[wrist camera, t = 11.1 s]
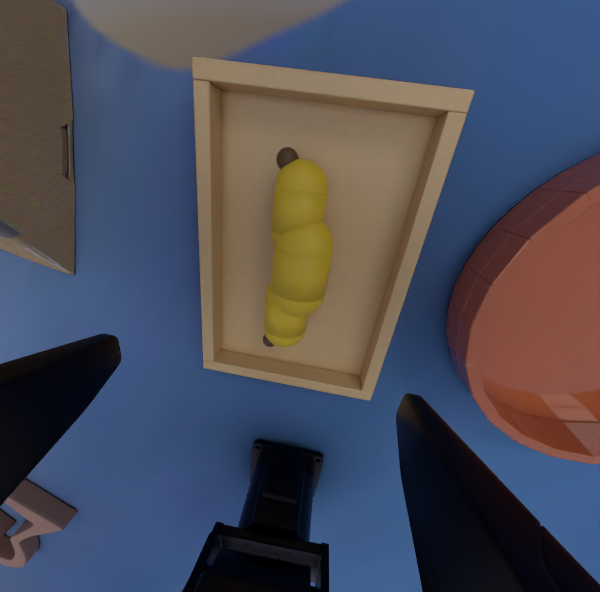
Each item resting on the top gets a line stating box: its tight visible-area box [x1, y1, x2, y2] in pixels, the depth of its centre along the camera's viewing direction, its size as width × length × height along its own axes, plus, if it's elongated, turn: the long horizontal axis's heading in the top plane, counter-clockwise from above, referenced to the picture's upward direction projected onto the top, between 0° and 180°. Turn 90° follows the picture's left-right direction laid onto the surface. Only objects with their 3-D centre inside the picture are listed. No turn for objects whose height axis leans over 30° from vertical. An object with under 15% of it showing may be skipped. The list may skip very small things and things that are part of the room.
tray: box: [192, 57, 474, 401], centre depth 16 cm, size 18×12×2 cm
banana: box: [263, 147, 334, 348], centre depth 15 cm, size 12×4×3 cm, turn 173°
